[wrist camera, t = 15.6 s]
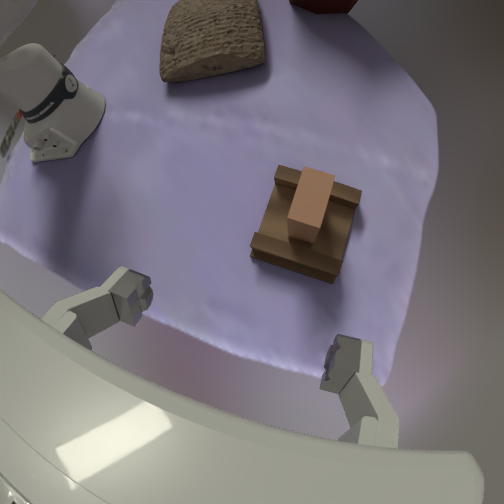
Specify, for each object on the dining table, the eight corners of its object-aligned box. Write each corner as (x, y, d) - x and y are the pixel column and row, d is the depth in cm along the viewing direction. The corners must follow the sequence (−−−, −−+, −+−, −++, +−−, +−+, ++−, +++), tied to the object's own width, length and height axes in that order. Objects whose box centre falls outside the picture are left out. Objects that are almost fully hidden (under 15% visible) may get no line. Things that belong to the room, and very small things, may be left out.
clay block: (312, 245, 40) (320, 228, 29) (288, 237, 41) (287, 217, 30) (324, 205, 41) (335, 175, 30) (300, 198, 41) (303, 166, 30)
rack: (332, 283, 40) (335, 282, 37) (250, 256, 42) (247, 253, 39) (358, 192, 41) (363, 184, 38) (281, 168, 43) (280, 158, 40)
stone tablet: (176, 11, 53) (163, 90, 49) (167, -11, 45) (147, 64, 41) (256, -3, 51) (269, 72, 47) (252, -28, 43) (265, 41, 39)
